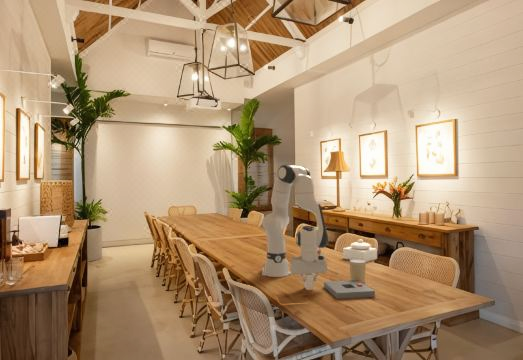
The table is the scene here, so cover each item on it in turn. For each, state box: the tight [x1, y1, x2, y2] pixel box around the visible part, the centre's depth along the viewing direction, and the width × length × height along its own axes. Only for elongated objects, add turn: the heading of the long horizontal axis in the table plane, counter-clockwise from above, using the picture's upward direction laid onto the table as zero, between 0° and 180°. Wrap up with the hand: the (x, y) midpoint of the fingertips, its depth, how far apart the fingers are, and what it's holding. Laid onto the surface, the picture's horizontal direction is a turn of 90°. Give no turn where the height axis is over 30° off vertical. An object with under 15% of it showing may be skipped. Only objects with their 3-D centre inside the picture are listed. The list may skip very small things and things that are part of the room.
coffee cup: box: [348, 259, 367, 284], centre depth 204 cm, size 9×9×12 cm
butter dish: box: [342, 238, 378, 263], centre depth 260 cm, size 18×18×16 cm
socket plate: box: [323, 279, 376, 300], centre depth 185 cm, size 20×20×4 cm
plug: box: [304, 273, 314, 291], centre depth 192 cm, size 7×4×8 cm, turn 9°
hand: (308, 281), depth 191 cm, fingers open, 5 cm apart
